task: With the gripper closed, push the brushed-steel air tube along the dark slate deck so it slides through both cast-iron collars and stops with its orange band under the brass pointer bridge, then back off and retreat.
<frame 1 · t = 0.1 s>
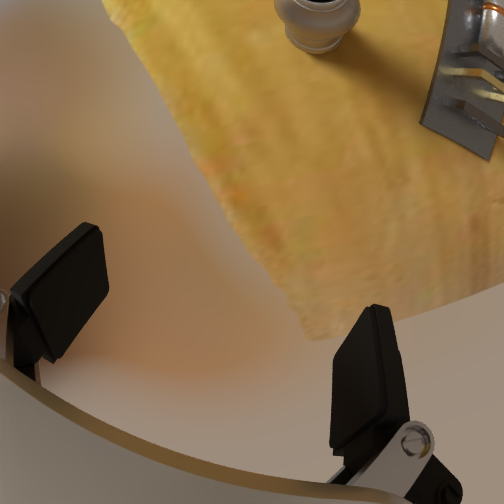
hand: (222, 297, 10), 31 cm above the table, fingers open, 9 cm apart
plastic bottle: (314, 33, 28), on the table
air tube: (496, 9, 15), point 4 cm above the table, slide at 0.0 cm
deck: (479, 46, 22), on the table
collar 1: (463, 112, 28), resting on deck
collar 2: (476, 63, 23), resting on deck
aperture bridge: (471, 84, 25), resting on deck
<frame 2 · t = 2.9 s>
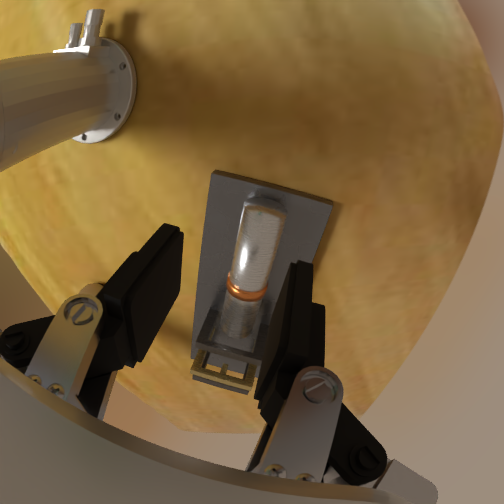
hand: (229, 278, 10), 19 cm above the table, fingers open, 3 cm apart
air tube: (249, 276, 31), point 4 cm above the table, slide at 0.0 cm
deck: (244, 298, 37), on the table
collar 1: (231, 348, 43), resting on deck
collar 2: (240, 313, 39), resting on deck
aperture bridge: (236, 330, 41), resting on deck
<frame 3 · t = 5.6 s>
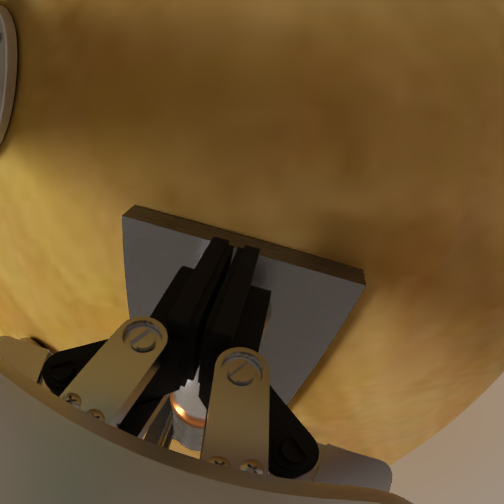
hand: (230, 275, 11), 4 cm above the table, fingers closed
air tube: (205, 389, 16), point 3 cm above the table, slide at 0.0 cm, touching gripper
deck: (210, 389, 23), on the table
collar 1: (201, 428, 29), resting on deck
collar 2: (206, 402, 25), resting on deck
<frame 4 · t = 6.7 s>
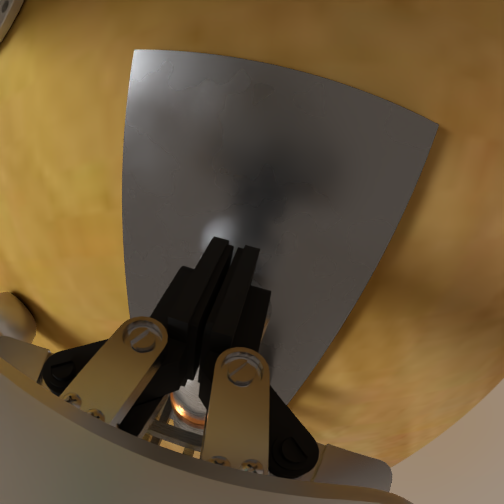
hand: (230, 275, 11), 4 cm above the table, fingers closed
plastic bottle: (23, 306, 24), on the table
air tube: (205, 389, 16), point 3 cm above the table, slide at 7.9 cm, touching gripper
deck: (222, 335, 18), on the table
collar 2: (216, 359, 20), resting on deck
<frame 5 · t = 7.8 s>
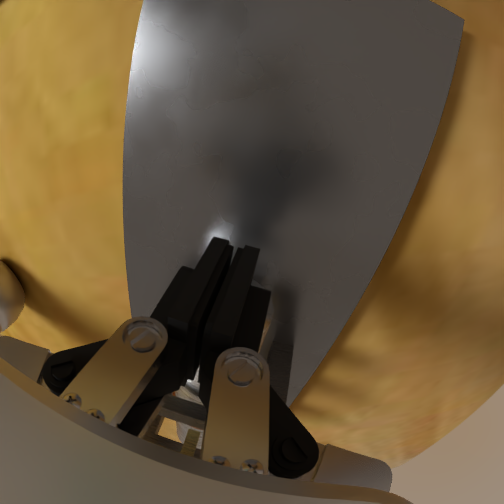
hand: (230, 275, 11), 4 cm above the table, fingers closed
plastic bottle: (12, 276, 22), on the table
air tube: (207, 390, 16), point 3 cm above the table, slide at 12.6 cm, touching gripper
deck: (236, 282, 16), on the table
collar 1: (214, 382, 22), resting on deck
collar 2: (228, 319, 17), resting on deck
aperture bridge: (221, 351, 19), resting on deck
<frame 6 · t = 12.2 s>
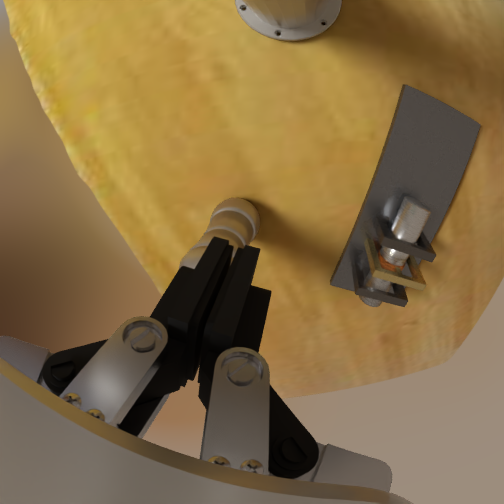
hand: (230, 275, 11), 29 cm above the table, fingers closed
plastic bottle: (240, 213, 42), on the table
air tube: (393, 254, 37), point 3 cm above the table, slide at 12.6 cm
deck: (405, 205, 36), on the table
collar 1: (375, 267, 43), resting on deck
collar 2: (397, 223, 38), resting on deck
aperture bridge: (387, 244, 40), resting on deck
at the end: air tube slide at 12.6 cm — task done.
